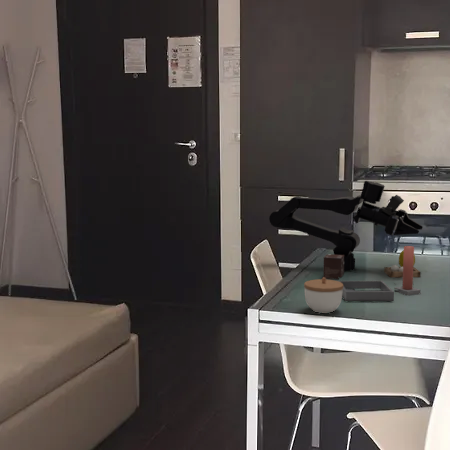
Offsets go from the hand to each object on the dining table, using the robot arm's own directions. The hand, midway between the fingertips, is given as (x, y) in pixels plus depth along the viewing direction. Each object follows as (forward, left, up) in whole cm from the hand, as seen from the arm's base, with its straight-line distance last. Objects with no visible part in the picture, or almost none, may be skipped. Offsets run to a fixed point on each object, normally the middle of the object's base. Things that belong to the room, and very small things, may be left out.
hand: (420, 230), depth 236 cm
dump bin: (-23, -24, -16) cm, 37 cm away
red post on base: (-9, -20, -16) cm, 27 cm away
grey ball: (-5, 0, -15) cm, 16 cm away
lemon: (-1, +10, -16) cm, 19 cm away
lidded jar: (-38, -40, -16) cm, 58 cm away
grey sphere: (-7, +2, -15) cm, 17 cm away
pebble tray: (-5, +1, -16) cm, 17 cm away
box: (-28, +1, -16) cm, 33 cm away
